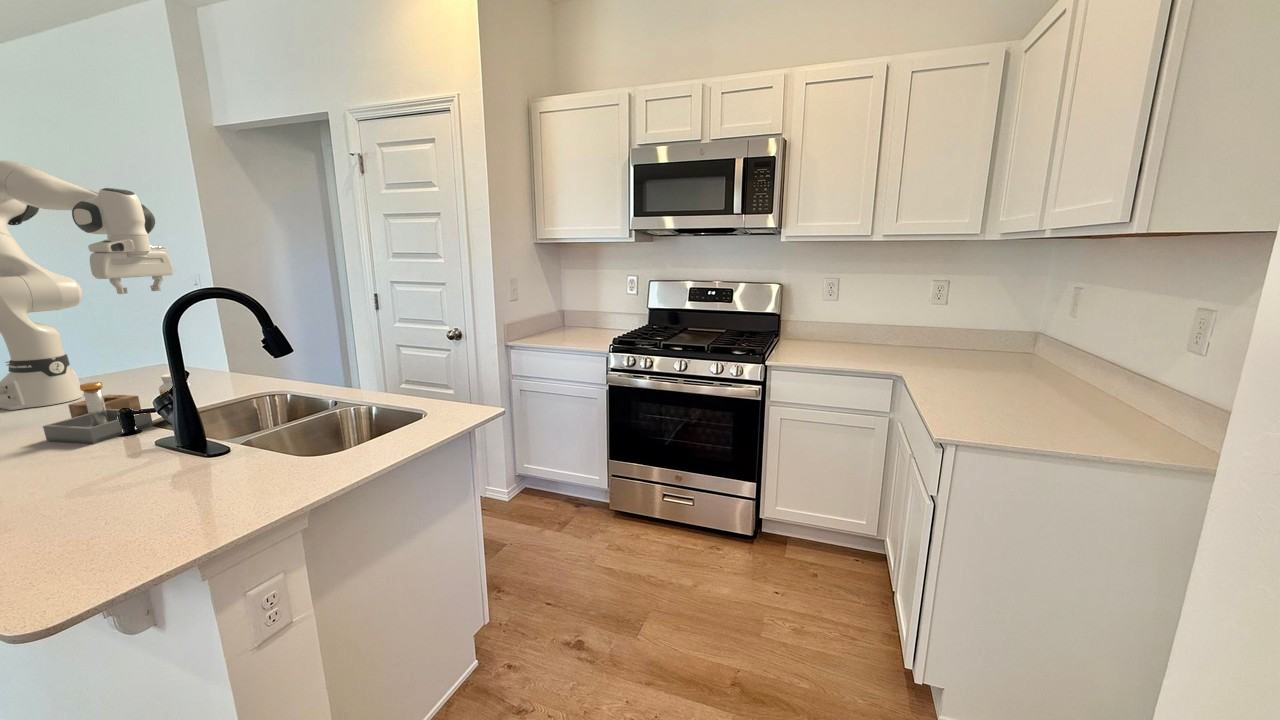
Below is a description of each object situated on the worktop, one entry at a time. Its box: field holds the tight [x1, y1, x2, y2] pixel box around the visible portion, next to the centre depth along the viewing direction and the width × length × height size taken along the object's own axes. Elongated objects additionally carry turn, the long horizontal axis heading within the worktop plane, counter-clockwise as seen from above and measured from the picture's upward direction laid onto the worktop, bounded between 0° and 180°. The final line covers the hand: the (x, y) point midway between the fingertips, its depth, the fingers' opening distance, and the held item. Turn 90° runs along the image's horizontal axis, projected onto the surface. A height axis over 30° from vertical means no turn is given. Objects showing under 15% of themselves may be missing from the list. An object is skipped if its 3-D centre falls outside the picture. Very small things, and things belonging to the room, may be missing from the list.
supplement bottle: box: [158, 373, 193, 397], centre depth 146 cm, size 7×7×13 cm
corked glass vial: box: [80, 381, 109, 427], centre depth 134 cm, size 4×4×12 cm
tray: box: [42, 409, 154, 445], centre depth 135 cm, size 14×14×4 cm
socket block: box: [67, 394, 142, 419], centre depth 148 cm, size 10×10×5 cm
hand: (139, 292), depth 156 cm, fingers open, 8 cm apart
